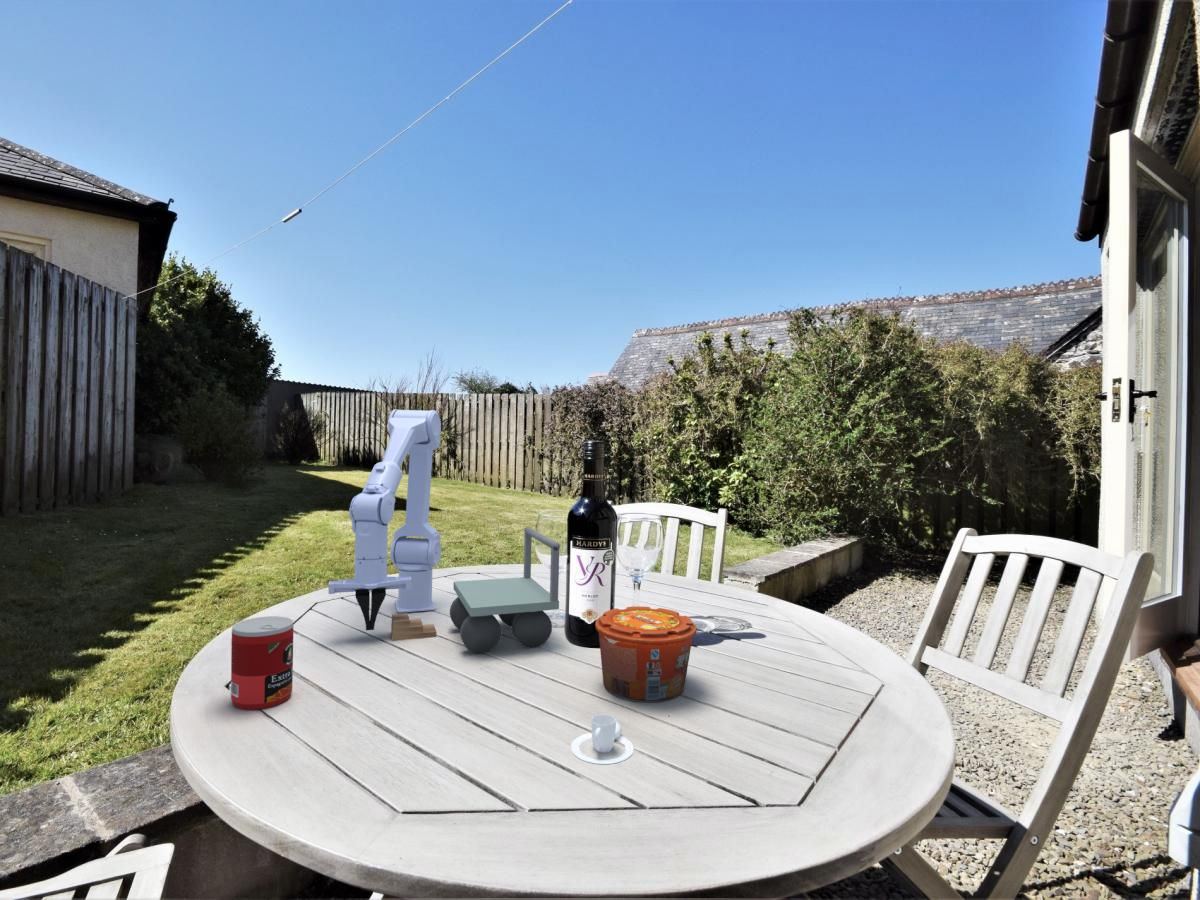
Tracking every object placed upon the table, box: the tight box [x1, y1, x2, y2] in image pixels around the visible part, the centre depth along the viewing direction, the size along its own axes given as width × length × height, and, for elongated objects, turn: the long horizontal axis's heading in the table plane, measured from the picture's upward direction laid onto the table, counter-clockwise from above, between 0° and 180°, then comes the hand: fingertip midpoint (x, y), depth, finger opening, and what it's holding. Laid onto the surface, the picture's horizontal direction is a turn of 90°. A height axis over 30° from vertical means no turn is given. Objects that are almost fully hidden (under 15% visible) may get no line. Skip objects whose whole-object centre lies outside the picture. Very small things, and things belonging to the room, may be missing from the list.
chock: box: [390, 612, 437, 642], centre depth 119 cm, size 5×8×4 cm, turn 111°
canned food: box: [230, 615, 294, 711], centre depth 89 cm, size 8×8×11 cm
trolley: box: [449, 526, 561, 655], centre depth 118 cm, size 20×17×20 cm
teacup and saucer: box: [570, 713, 635, 765], centre depth 78 cm, size 9×8×4 cm
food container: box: [594, 605, 697, 703], centre depth 97 cm, size 16×16×11 cm
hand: (369, 628), depth 116 cm, fingers closed
